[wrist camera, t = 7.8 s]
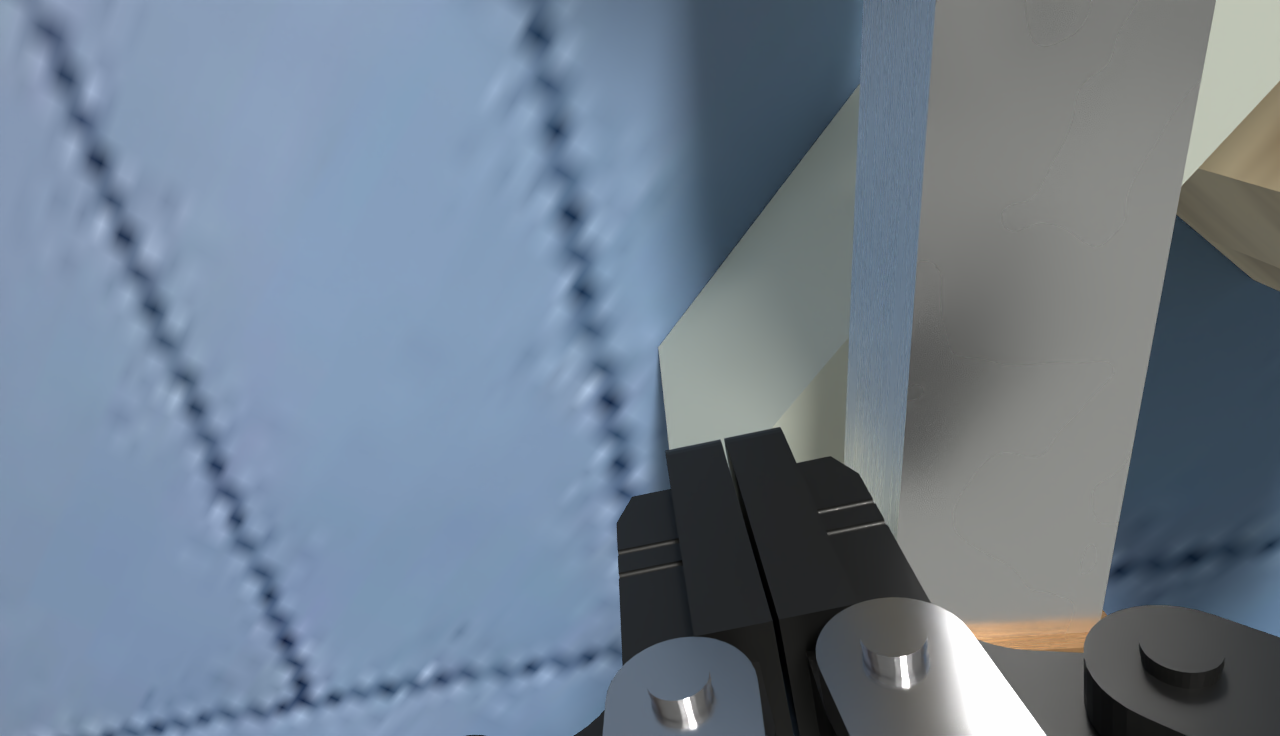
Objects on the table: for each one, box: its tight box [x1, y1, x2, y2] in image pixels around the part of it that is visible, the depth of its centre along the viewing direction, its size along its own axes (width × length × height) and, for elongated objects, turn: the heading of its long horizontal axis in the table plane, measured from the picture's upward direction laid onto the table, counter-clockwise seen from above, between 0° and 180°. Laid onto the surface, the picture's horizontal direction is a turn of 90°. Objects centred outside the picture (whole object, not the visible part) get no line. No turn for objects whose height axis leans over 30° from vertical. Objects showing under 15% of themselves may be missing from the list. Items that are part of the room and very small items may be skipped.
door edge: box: [658, 0, 1280, 467], centre depth 17 cm, size 16×2×9 cm, turn 145°
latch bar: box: [844, 0, 1216, 653], centre depth 9 cm, size 16×3×4 cm, turn 3°
